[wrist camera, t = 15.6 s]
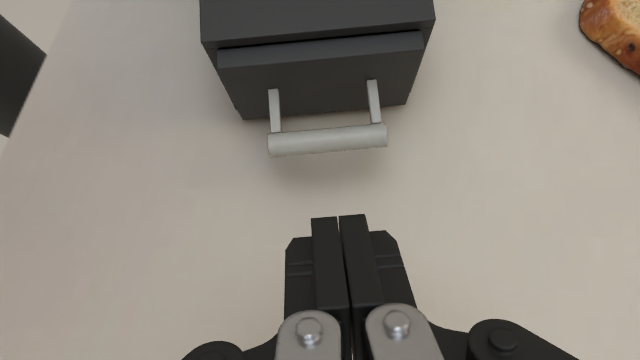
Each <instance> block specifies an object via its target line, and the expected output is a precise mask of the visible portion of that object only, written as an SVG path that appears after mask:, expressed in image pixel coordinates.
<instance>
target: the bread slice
mask: <svg viewBox="0 0 640 360" xmlns="http://www.w3.org/2000/svg"><path fill="white" fill-rule="evenodd" d="M580 27H581V29H582V31H583V32H584V33H585V34H586V36H587V37H588V38H589V39H590V40H591V41H593V42H596V43H598V44H599V45H600V46H601V47H602V48H603V49H604V50H605V51H606V52H607V53H608V54H610V55H611V56H613V57H614V58H616V59H617V60H618V61H619V62H620V64H621V65H622V66H623V67H625V68H627V69H630V70H632V71H634V72H635V73H637V74H638V75H639V76H640V0H585V1H584V4H583V7H582V9H581V12H580Z"/></svg>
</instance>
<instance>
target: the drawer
mask: <svg viewBox="0 0 640 360" xmlns="http://www.w3.org/2000/svg"><path fill="white" fill-rule="evenodd" d="M235 47H236V48H232V49H221V50H216V62H217V70H218V72H219V74H220V76H221V78H222V80H223V82H224V84H225V86H226V88H227V90H228V92H229V94H230V96H231V98H232V100H233V101H234V103H235V105H236V107H237V109H238V111H239V113H240V115H241V117H242V119H243V120H247V119H257V118H268V117H270V127H271V134H268V136H267V144H268V152H269V156H270V157H281V156H292V155H303V154H313V153H324V152H335V151H346V150H356V149H367V148H378V147H387V145H388V133H387V127H386V124H385V123H382V120H381V112H380V107H385V106H396V105H405V104H406V101H407V98H408V96H409V93H410V90H411V87H412V84H413V81H414V78H415V75H416V73H417V70H418V67H419V64H420V61H421V58H422V55H423V52H424V49H425V48H424V41H423V35H422V31H410V32H401V30H399V31H388V32H378V33H367V34H357V35H346V36H336V37H325V38H315V39H304V40H294V41H283V42H273V43H262V44H252V45H241V46H235ZM364 108H369V111H370V120H371V124H370V125H359V126H348V127H337V128H327V129H316V130H305V131H295V132H284V133H282V130H281V116H289V115H300V114H311V113H321V112H332V111H343V110H353V109H364Z"/></svg>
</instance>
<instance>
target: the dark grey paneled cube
mask: <svg viewBox="0 0 640 360" xmlns="http://www.w3.org/2000/svg"><path fill="white" fill-rule="evenodd" d="M435 20H436V17H435V11H434V5H433V0H200V32H201V43H202V45H203V47H204V49H205V50H206V52H207V54H208V56H209V58H210V60H211V62H212V64H213V66H214V68H215V70H216V72H217V73H218V75H219V77H220V79H221V81H222V83H223V85H224V87H225V89H226V91H227V93H228V95H229V97H230V99H231V101H232V103H233V104H234V107H235V109H237V107H236V105H235V103H234V101H233V100H232V98H231V96H230V94H229V92H228V90H227V88H226V86H225V84H224V82H223V80H222V78H221V76H220V74H219V72H218V70H217V62H216V50H221V49H232V48H236V47H235V46H241V45H252V44H262V43H273V42H283V41H294V40H304V39H315V38H325V37H336V36H346V35H357V34H367V33H378V32H388V31H399V30H401V32H410V31H422V35H423V41H424V48H425V49H426V46H427V43H428V40H429V37H430V35H431V32H432V29H433V26H434V23H435ZM425 49H424V52H425ZM424 52H423V55H424ZM423 55H422V57H423ZM421 60H422V58H421ZM420 63H421V61H420ZM419 66H420V64H419ZM418 69H419V67H418ZM417 72H418V70H417ZM416 75H417V73H416ZM416 75H415V77H416ZM414 80H415V78H414ZM413 83H414V81H413ZM412 86H413V84H412ZM411 89H412V87H411ZM410 91H411V90H410Z"/></svg>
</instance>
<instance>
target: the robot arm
mask: <svg viewBox="0 0 640 360" xmlns="http://www.w3.org/2000/svg"><path fill="white" fill-rule="evenodd" d="M311 229H312V236H311V237H299V238H293V239H292V241H291V242H290V244H289V245H288V247H287V249H286V250H285V300H284V321H283V323H282V324H281V326H280V328H279V330H278V333H277V334H276V335H275V336H274V337H273V338H272V339H270V340H269V341H267V342H266V343H264V344H262V345H259V346H257V347H254V348H252V349H249V350H246V351H243V352H242V350H241V349H240V348H239V347H237V346H236V345H234V344H232V343H230V342H225V341H214V342H209V343H205V344H203V345H201V346H198V347H197V348H195V349H193V350H192V351H191V352H190V353H188V354H187V355H186V356H185V357H184V358H183V359H182V360H352V354H353V360H579V359H577V358H575V357H573V356H572V355H570V354H568V353H567V352H565V351H563V350H561V349H560V348H558V347H556V346H554V345H553V344H551V343H549V342H547V341H546V340H544V339H542V338H540V337H539V336H537V335H535V334H533V333H532V332H530V331H528V330H527V329H525V328H523V327H521V326H519V325H517V324H515V323H513V322H510V321H507V320H501V319H488V320H484V321H481V322H479V323H477V324H475V325H474V326H473V327H472V328H471V330H470V332H469V333H465V332H460V331H454V330H449V329H444V328H441V327H439V326H436V325H434V324H432V323H431V322H429V321H428V320H427V319H426V317H425V316H424V314H423V313H422V312H420V311H419V310H418V309H417V306H416V303H415V300H414V297H413V293H412V290H411V287H410V284H409V280H408V277H407V274H406V271H405V267H404V264H403V261H402V258H401V256H400V251H399V248H398V244H397V241H396V240H395V239H394V238H393V237H392V236H391V235H390V234H389V233H388V232H387V231H386V230H383V231H371V232H369V230H368V225H367V221H366V217H365V214H358V215H346V216H339V229H338V222H337V216H335V217H322V218H311ZM339 235H340V236H339ZM351 347H352V348H351Z"/></svg>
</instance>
